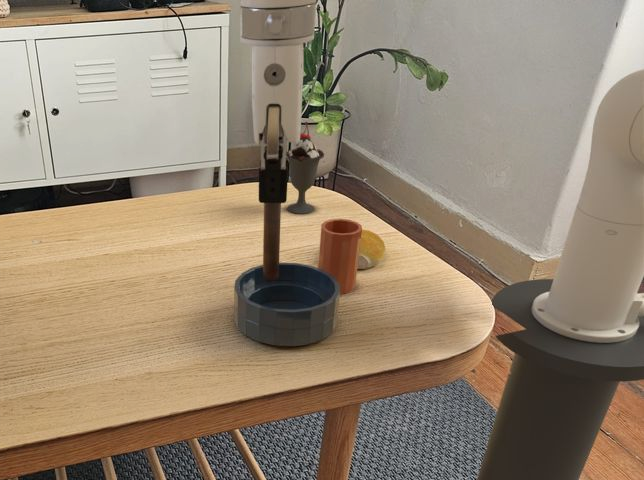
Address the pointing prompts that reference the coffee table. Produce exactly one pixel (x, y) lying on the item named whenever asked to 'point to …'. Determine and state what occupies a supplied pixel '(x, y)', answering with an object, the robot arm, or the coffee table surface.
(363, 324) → the coffee table surface
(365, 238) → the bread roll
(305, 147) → the sundae
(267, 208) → the stirring stick
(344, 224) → the crock
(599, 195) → the robot arm
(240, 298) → the bowl
